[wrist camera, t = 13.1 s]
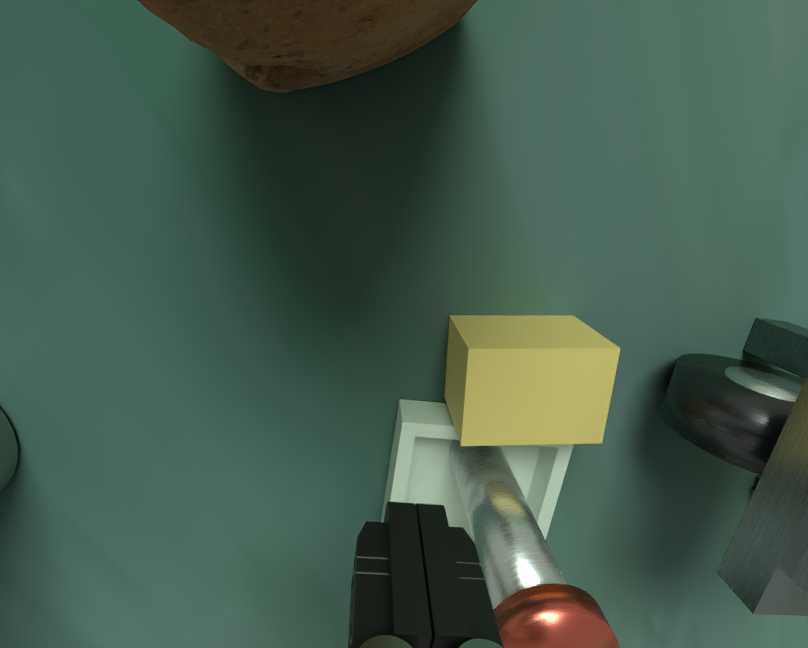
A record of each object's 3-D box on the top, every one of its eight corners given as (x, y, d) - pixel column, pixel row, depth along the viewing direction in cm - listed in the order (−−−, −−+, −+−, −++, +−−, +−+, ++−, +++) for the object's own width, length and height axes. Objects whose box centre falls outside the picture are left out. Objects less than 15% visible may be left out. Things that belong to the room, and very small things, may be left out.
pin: (431, 478, 27) (479, 708, 15) (444, 414, 26) (506, 613, 14) (502, 483, 27) (598, 709, 16) (517, 420, 26) (636, 618, 15)
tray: (379, 532, 29) (380, 564, 26) (399, 399, 26) (402, 421, 23) (522, 540, 30) (535, 571, 27) (557, 413, 27) (576, 436, 24)
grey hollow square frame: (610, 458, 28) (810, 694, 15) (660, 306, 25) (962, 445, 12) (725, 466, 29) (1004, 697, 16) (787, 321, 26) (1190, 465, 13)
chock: (444, 396, 26) (461, 446, 21) (449, 314, 24) (468, 348, 20) (560, 395, 27) (601, 443, 22) (572, 315, 25) (620, 348, 20)
